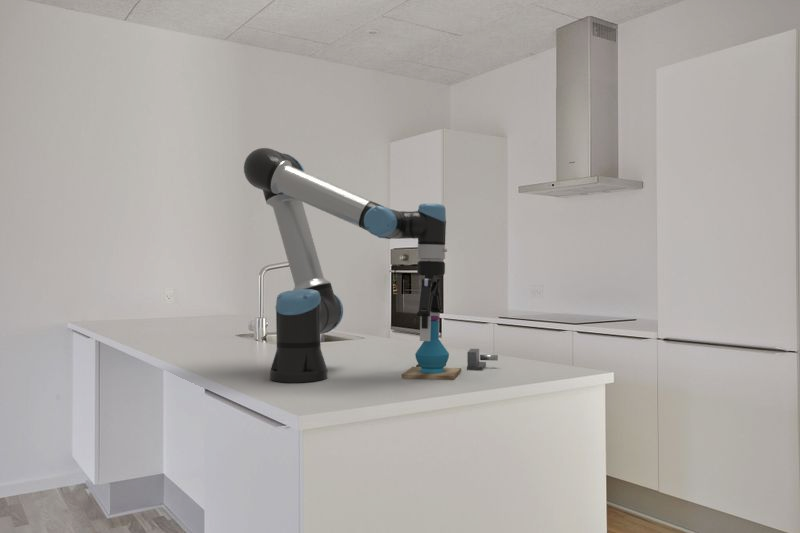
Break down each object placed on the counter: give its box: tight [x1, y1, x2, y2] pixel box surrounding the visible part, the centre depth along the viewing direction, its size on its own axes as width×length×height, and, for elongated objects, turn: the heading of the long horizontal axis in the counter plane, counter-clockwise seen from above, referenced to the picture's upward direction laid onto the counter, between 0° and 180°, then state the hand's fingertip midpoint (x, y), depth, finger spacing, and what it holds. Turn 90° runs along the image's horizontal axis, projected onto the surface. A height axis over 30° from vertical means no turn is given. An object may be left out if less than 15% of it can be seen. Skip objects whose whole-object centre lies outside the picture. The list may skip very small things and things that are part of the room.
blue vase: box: [414, 316, 450, 373], centre depth 183 cm, size 9×9×15 cm
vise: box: [415, 348, 499, 371], centre depth 196 cm, size 23×10×5 cm, turn 77°
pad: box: [401, 366, 462, 381], centre depth 183 cm, size 14×14×1 cm
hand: (429, 338), depth 183 cm, fingers open, 13 cm apart
